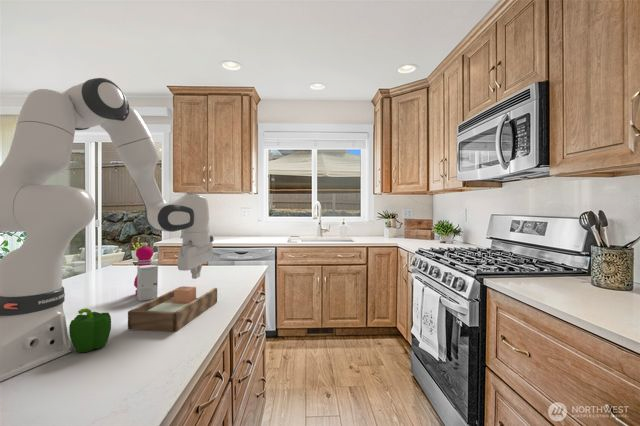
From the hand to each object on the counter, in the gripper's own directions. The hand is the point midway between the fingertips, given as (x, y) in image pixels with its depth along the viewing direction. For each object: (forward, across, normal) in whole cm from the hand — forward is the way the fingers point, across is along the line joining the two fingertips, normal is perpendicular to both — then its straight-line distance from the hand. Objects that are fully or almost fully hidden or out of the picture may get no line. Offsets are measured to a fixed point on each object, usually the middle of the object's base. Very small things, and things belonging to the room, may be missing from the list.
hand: (196, 277), depth 117 cm
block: (+6, -9, 0) cm, 10 cm away
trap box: (+8, -13, 0) cm, 16 cm away
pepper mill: (+9, +8, +24) cm, 27 cm away
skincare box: (+9, +2, +19) cm, 21 cm away
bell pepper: (+8, -39, +8) cm, 41 cm away
